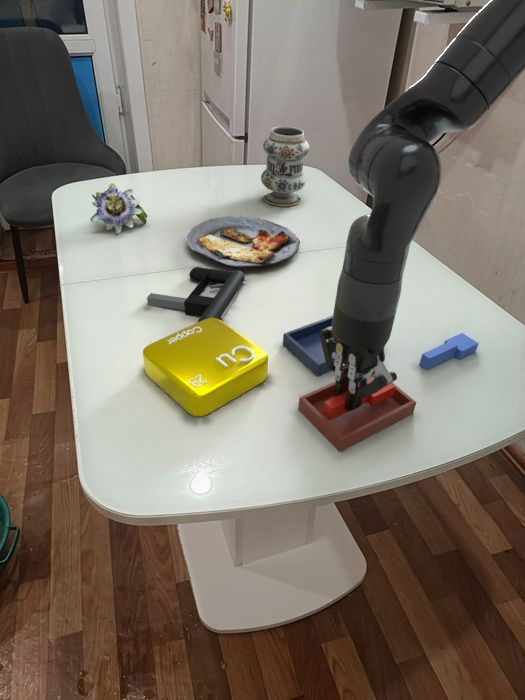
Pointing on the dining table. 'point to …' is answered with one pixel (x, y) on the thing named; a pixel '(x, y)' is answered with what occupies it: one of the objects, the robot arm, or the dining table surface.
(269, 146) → the apothecary jar
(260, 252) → the food plate
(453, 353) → the blue stepped block
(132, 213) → the passion flower
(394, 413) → the rust tray
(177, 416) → the dining table surface
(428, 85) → the robot arm
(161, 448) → the dining table surface
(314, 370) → the navy tray
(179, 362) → the element tile
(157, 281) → the dining table surface
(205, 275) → the door handle
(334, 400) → the red stepped block
